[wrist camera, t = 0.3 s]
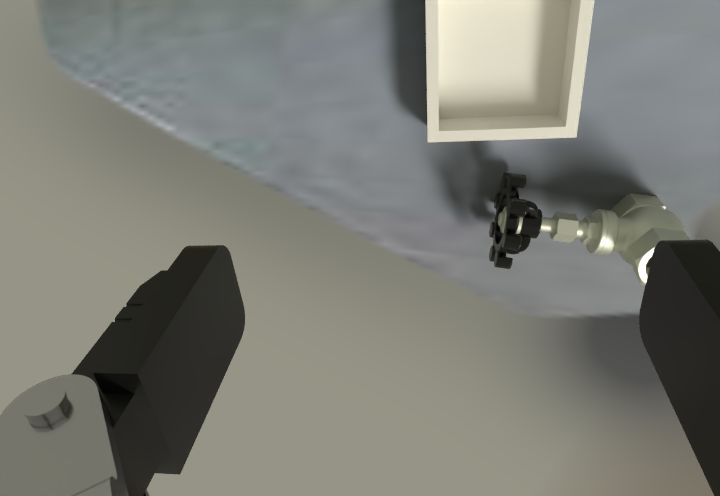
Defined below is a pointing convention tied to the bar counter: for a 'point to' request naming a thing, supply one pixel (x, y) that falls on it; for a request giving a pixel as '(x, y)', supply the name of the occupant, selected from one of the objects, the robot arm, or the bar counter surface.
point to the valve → (583, 227)
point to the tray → (505, 68)
